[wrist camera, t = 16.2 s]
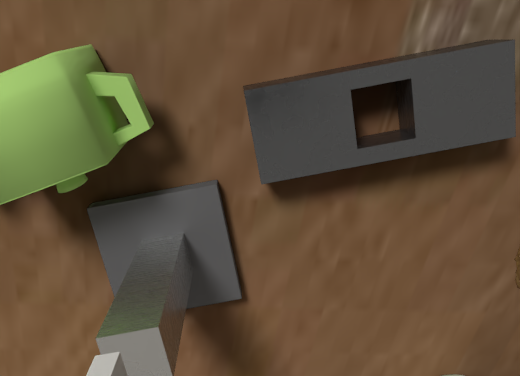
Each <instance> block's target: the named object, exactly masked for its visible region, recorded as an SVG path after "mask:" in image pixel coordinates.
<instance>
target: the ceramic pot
mask: <svg viewBox="0 0 520 376" xmlns="http://www.w3.org/2000/svg"><path fill="white" fill-rule="evenodd" d="M519 255H520V248H519V249H518V254H517V256H516V258H515V261H516V265H517V270H516V275H517V276H516V279H515V280H516V284H517V287H518V288H519V289H520V282H519V280H520V257H519Z"/></svg>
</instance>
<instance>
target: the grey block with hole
mask: <svg viewBox="0 0 520 376" xmlns="http://www.w3.org/2000/svg"><path fill="white" fill-rule="evenodd" d="M395 81H396V91H397V102H398V114H399V125H400V130H395V131H389V132H384V133H379V134H373V135H368V136H363V137H357V138H356V132H355V124H354V115H353V107H352V98H351V90H352V89H357V88H363V87H368V86H373V85H379V84H384V83H389V82H395ZM243 88H244V94H245V99H246V105H247V110H248V115H249V121H250V126H251V131H252V137H253V142H254V147H255V153H256V158H257V163H258V169H259V174H260V179H261V184H266V183H271V182H277V181H282V180H287V179H293V178H298V177H303V176H309V175H314V174H320V173H325V172H330V171H336V170H341V169H346V168H352V167H357V166H362V165H368V164H373V163H378V162H384V161H389V160H394V159H400V158H405V157H410V156H416V155H421V154H426V153H432V152H437V151H442V150H448V149H453V148H458V147H464V146H469V145H474V144H480V143H485V142H490V141H496V140H501V139H506V138H512V137H516V132H515V40H485V41H479V42H474V43H469V44H464V45H458V46H453V47H448V48H442V49H437V50H432V51H426V52H421V53H416V54H410V55H405V56H400V57H395V58H389V59H384V60H379V61H373V62H368V63H363V64H357V65H352V66H347V67H342V68H336V69H331V70H326V71H320V72H315V73H310V74H304V75H299V76H294V77H289V78H283V79H278V80H273V81H267V82H262V83H257V84H251V85H246V86H243Z"/></svg>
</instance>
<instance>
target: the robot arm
mask: <svg viewBox="0 0 520 376" xmlns="http://www.w3.org/2000/svg"><path fill="white" fill-rule="evenodd" d="M86 376H128V375H127V372H126V369H125V366H124V363H123V360H122V357H121V354H120V352H115V353H109V354H103V355H97V356H95V357H94V360H93V362H92V364H91V366H90V369H89V371H88V373H87V375H86Z"/></svg>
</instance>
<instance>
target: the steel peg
mask: <svg viewBox="0 0 520 376" xmlns="http://www.w3.org/2000/svg"><path fill="white" fill-rule="evenodd" d="M192 274H193V268H192V264H191V260H190V256H189V252H188V248H187V244H186V240H185V236H184V233H179V234H173V235H168V236H163V237H157V238H152V239H147V240H142V241H141V243H140V245H139V247H138V249H137V251H136V253H135V256H134V258H133V260H132V262H131V264H130V266H129V268H128V270H127V273H126V275H125V277H124V279H123V281H122V283H121V285H120V288H119V290H118V292H117V294H116V296H115V298H114V300H113V303H112V305H111V307H110V309H109V311H108V313H107V315H106V317H105V320H104V322H103V324H102V326H101V328H100V330H99V332H98V335H97V337H96V341H97V344H98V347H99V350H100V353H101V355H103V354H109V353H115V352H120V354H121V357H122V360H123V363H124V366H125V369H126V372H127V375H128V376H174V372H175V367H176V361H177V356H178V350H179V345H180V339H181V334H182V328H183V323H184V317H185V312H186V307H187V301H188V296H189V290H190V285H191V279H192Z"/></svg>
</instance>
